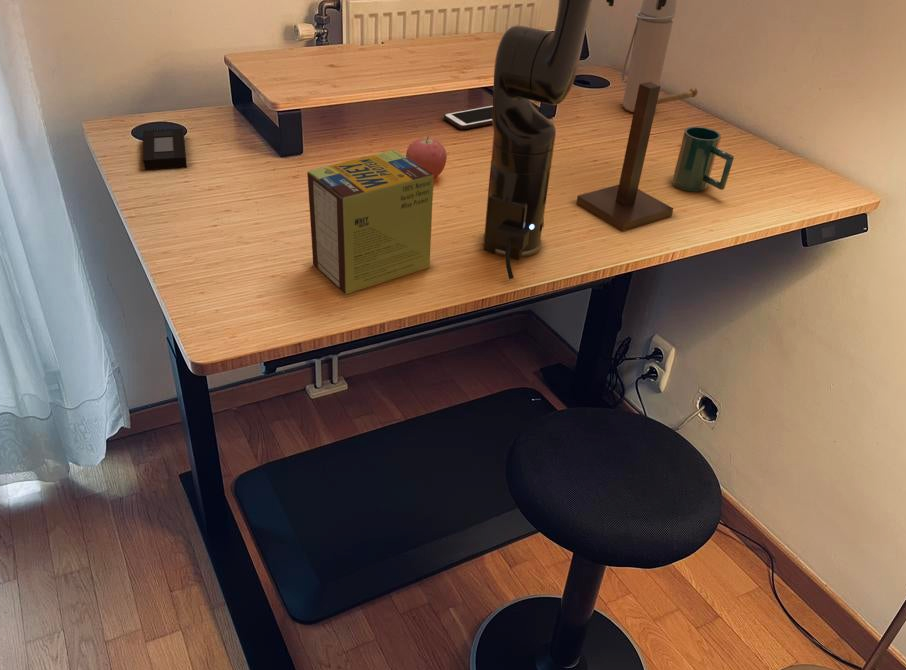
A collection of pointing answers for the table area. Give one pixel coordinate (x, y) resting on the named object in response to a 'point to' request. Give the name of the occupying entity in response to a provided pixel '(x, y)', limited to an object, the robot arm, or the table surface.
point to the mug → (699, 160)
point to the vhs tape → (164, 149)
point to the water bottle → (648, 48)
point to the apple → (428, 155)
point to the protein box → (370, 219)
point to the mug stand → (633, 170)
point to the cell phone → (471, 117)
